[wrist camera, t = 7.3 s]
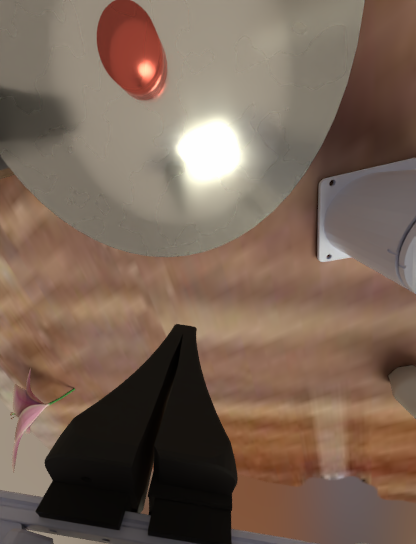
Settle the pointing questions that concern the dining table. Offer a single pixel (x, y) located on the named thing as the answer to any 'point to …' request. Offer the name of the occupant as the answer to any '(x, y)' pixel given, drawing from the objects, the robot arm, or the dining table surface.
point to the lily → (26, 411)
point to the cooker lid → (169, 111)
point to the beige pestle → (404, 387)
